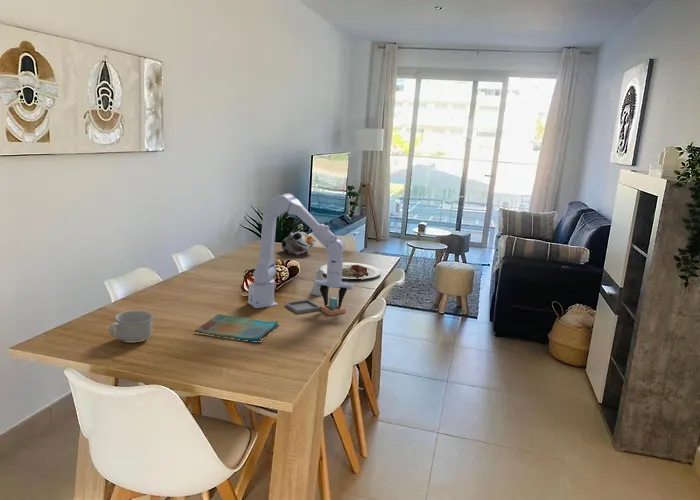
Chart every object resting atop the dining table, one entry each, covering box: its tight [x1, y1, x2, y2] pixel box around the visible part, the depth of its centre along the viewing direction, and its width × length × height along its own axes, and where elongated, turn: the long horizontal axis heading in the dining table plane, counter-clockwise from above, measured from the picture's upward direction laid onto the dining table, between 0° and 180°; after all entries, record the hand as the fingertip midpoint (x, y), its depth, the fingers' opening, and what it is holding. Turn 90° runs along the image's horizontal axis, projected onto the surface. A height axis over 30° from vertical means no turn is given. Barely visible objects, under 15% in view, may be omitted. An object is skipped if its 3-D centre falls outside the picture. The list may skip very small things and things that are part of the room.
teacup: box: [108, 310, 154, 341], centre depth 159 cm, size 14×11×8 cm
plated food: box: [319, 261, 382, 280], centre depth 253 cm, size 30×30×3 cm
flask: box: [310, 269, 324, 297], centre depth 217 cm, size 7×7×10 cm
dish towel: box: [194, 314, 280, 342], centre depth 174 cm, size 17×23×2 cm
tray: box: [284, 299, 321, 315], centre depth 198 cm, size 10×10×2 cm
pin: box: [328, 296, 338, 310], centre depth 196 cm, size 3×3×5 cm
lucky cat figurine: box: [281, 231, 317, 256], centre depth 287 cm, size 17×14×16 cm
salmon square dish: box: [319, 303, 347, 316], centre depth 196 cm, size 7×7×2 cm
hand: (332, 305), depth 196 cm, fingers open, 5 cm apart
